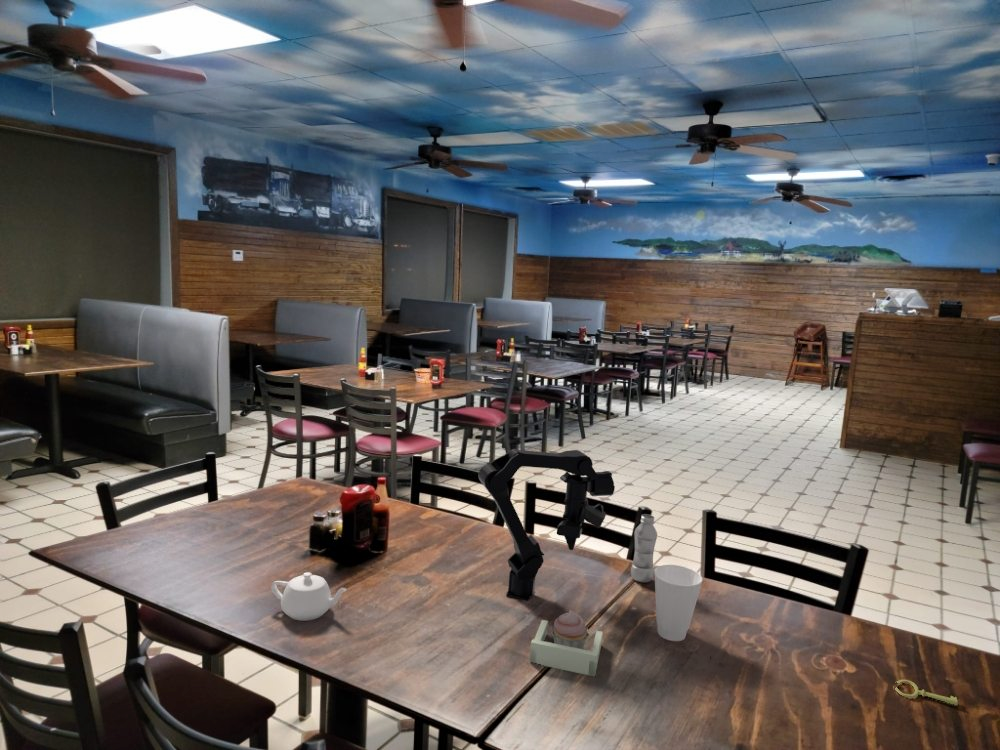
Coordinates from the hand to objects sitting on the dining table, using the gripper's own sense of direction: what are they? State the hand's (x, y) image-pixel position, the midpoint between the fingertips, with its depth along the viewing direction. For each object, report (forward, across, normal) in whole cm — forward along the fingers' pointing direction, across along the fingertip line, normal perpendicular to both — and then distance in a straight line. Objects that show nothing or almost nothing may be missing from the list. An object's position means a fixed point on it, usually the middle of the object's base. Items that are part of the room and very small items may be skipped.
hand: (571, 549), depth 188 cm
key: (+13, -18, -84) cm, 87 cm away
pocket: (+12, -32, -6) cm, 34 cm away
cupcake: (+12, -30, -6) cm, 33 cm away
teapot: (+12, -39, +59) cm, 72 cm away
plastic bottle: (+12, +15, -20) cm, 27 cm away
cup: (+12, -13, -29) cm, 34 cm away
